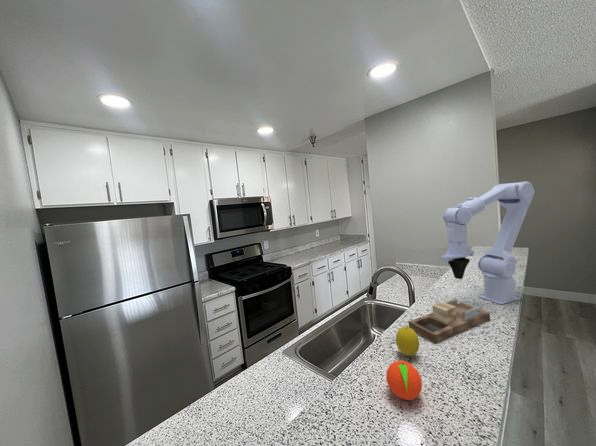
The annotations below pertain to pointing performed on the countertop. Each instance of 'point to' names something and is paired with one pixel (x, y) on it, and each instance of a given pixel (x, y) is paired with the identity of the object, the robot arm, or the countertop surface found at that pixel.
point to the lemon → (407, 341)
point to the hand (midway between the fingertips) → (458, 278)
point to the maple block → (444, 312)
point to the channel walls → (467, 314)
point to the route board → (446, 324)
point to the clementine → (404, 380)
